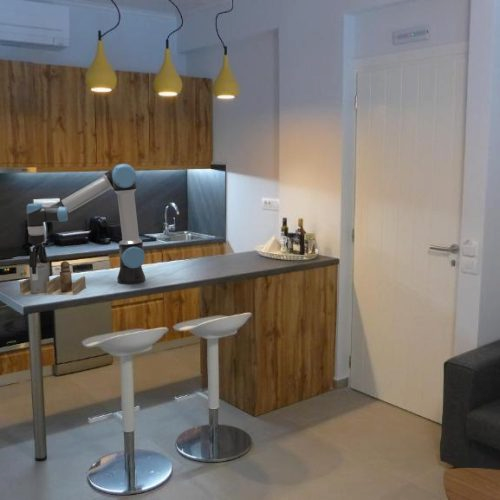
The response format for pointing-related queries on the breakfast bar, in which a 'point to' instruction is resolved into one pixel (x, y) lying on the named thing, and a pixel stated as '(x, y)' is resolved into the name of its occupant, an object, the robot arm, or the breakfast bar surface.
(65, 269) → the pepper mill
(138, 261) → the robot arm
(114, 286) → the breakfast bar surface
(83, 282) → the rack
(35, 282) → the grey notched block
